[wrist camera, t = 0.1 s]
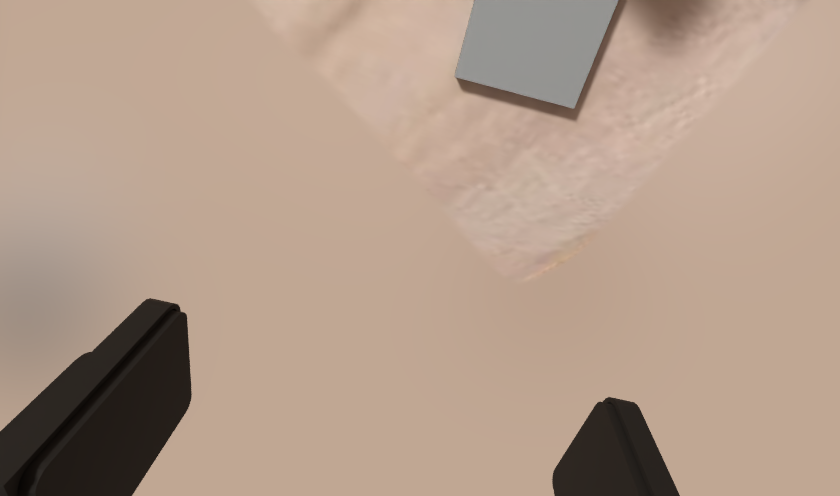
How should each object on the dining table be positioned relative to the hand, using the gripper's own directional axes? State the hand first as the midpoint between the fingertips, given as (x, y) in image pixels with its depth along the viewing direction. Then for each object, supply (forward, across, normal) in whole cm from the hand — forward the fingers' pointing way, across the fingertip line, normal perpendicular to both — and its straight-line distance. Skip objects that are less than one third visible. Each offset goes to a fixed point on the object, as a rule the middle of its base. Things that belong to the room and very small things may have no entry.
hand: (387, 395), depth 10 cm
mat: (+31, -6, -7) cm, 33 cm away
